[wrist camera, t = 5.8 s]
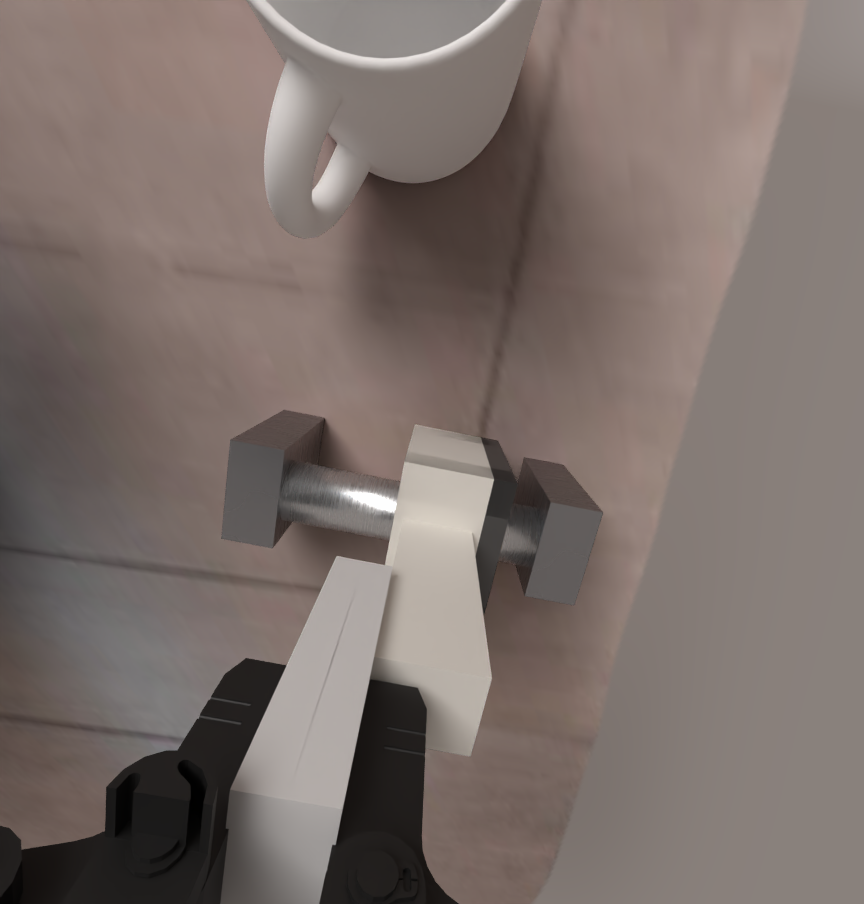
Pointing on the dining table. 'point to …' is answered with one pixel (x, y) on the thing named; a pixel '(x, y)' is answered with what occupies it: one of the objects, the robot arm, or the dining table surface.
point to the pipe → (374, 502)
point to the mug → (383, 94)
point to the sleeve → (444, 579)
